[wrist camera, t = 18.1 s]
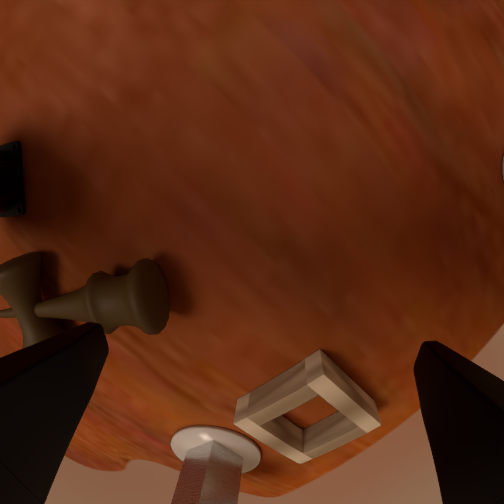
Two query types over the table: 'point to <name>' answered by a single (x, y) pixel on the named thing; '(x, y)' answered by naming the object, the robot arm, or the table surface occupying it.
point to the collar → (298, 392)
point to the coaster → (223, 436)
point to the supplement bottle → (503, 167)
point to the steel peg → (209, 476)
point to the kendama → (84, 299)
